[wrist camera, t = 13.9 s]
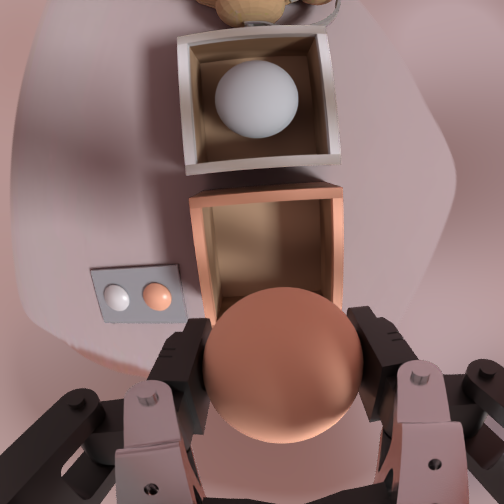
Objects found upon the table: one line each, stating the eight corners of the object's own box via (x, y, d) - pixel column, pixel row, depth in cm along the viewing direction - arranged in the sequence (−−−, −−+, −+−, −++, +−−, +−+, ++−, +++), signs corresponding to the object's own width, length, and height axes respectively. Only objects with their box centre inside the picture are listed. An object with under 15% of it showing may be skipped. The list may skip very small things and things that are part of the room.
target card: (91, 269, 23) (89, 271, 23) (178, 264, 23) (176, 266, 22) (106, 321, 25) (103, 323, 24) (188, 321, 24) (186, 324, 24)
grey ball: (219, 77, 18) (204, 54, 14) (291, 71, 18) (297, 46, 13) (224, 144, 20) (211, 139, 15) (297, 138, 19) (306, 131, 15)
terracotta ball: (205, 269, 11) (167, 350, 6) (344, 259, 10) (402, 331, 6) (222, 377, 12) (207, 473, 7) (338, 369, 12) (367, 460, 7)
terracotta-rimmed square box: (203, 190, 21) (188, 198, 17) (325, 181, 21) (342, 187, 16) (217, 302, 24) (208, 333, 19) (327, 294, 23) (341, 323, 19)
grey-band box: (192, 59, 18) (177, 36, 14) (313, 50, 18) (325, 25, 13) (201, 172, 21) (186, 175, 16) (324, 163, 20) (341, 164, 16)
